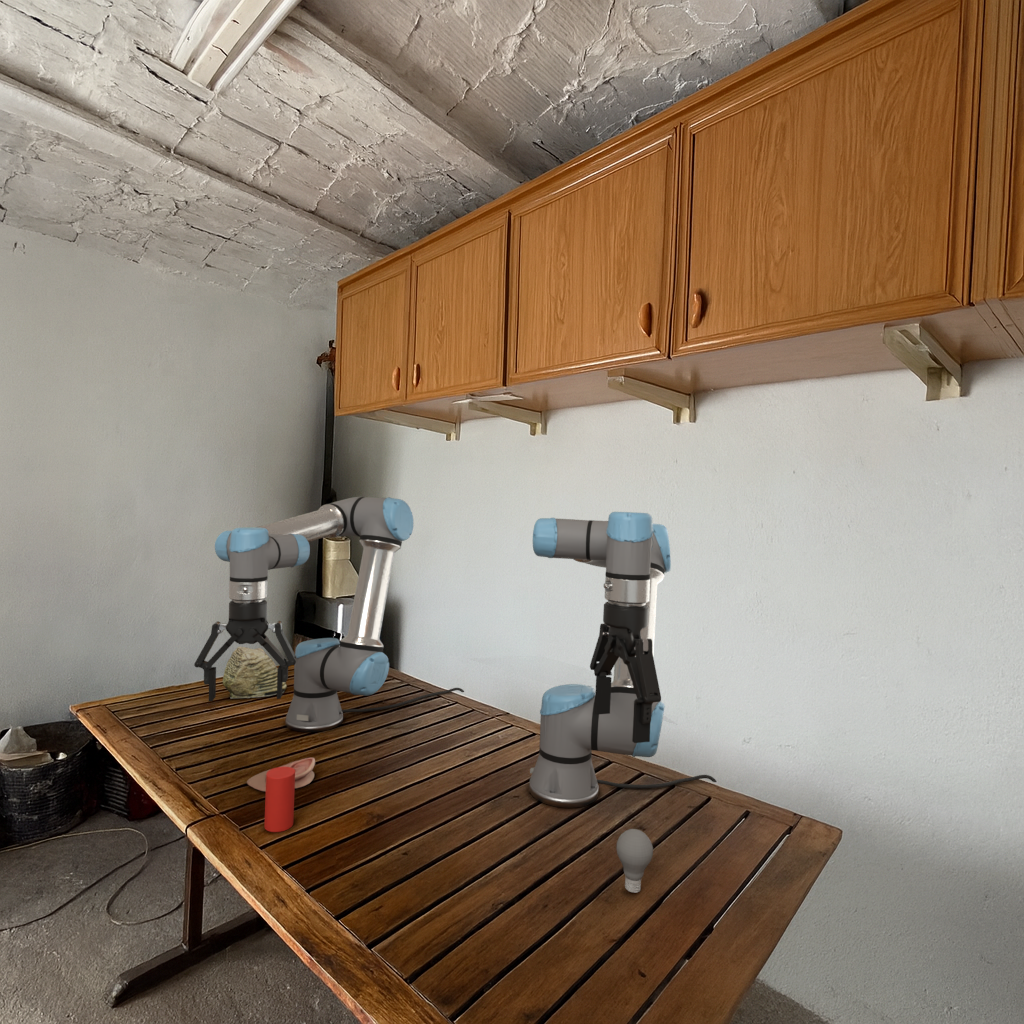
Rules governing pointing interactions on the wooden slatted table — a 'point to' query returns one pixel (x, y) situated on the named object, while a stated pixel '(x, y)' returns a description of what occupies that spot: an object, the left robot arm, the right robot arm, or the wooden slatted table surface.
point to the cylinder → (279, 799)
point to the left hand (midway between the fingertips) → (246, 698)
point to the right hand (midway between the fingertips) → (620, 726)
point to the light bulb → (634, 857)
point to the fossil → (251, 674)
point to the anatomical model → (301, 774)
